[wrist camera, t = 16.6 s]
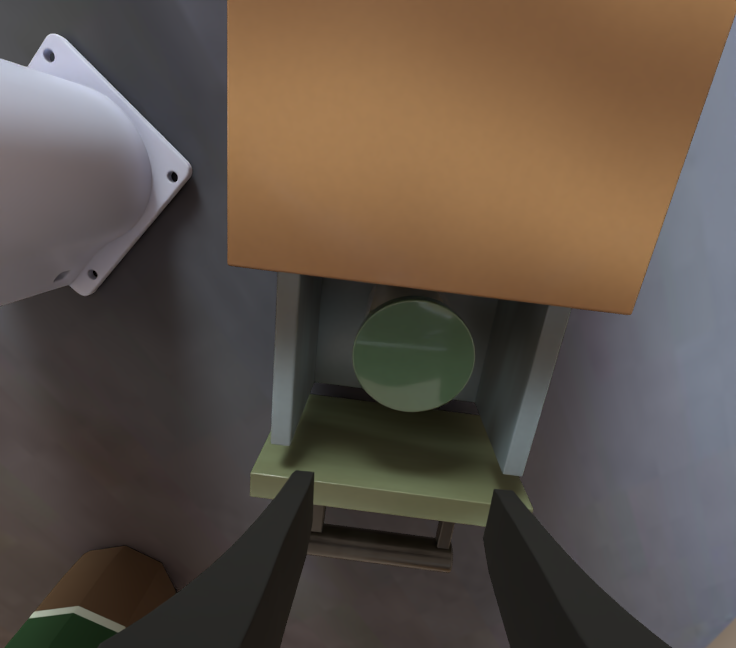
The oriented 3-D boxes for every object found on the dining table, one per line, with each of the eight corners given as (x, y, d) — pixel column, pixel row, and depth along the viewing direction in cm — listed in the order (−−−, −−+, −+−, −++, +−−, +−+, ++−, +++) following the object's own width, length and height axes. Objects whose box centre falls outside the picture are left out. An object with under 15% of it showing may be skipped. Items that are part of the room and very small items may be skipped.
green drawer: (472, 498, 24) (502, 610, 18) (284, 474, 24) (247, 577, 18) (548, 195, 19) (631, 201, 12) (302, 165, 19) (257, 156, 12)
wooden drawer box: (536, 264, 21) (632, 316, 12) (290, 233, 21) (226, 266, 13) (626, -90, 16) (873, -376, 8) (308, -127, 16) (225, -445, 8)
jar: (403, 367, 21) (407, 433, 15) (343, 307, 20) (326, 354, 14) (469, 312, 19) (501, 363, 14) (410, 246, 19) (419, 273, 13)
